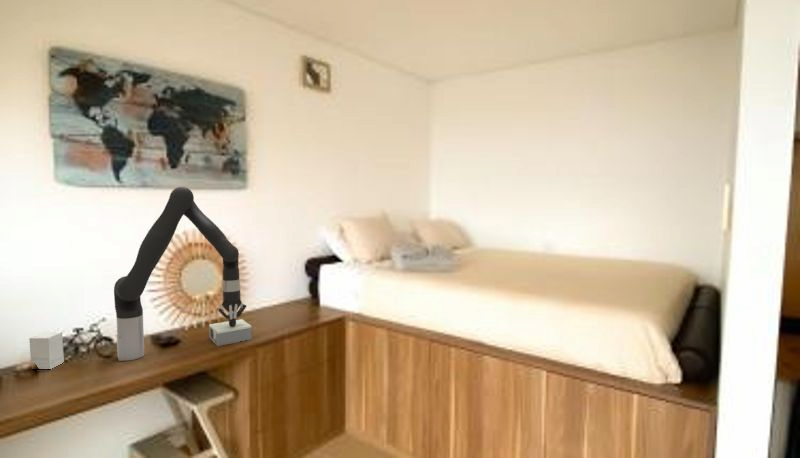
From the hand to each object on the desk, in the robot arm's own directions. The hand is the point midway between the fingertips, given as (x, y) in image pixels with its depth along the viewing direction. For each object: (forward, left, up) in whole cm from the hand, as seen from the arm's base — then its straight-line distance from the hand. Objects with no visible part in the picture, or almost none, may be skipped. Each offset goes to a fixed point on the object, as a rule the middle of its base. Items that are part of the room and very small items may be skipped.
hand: (232, 326), depth 202 cm
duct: (0, +3, -7) cm, 7 cm away
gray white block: (0, +3, -6) cm, 6 cm away
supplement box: (-67, +11, -7) cm, 68 cm away
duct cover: (0, +3, -1) cm, 3 cm away
